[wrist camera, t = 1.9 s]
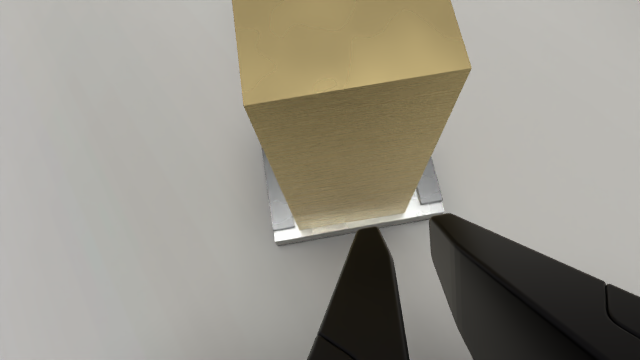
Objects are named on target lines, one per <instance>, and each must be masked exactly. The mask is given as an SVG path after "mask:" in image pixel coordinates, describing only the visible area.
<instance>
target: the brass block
mask: <svg viewBox="0 0 640 360" xmlns="http://www.w3.org/2000/svg"><path fill="white" fill-rule="evenodd" d="M232 4H233V13H234V22H235V32H236V41H237V50H238V59H239V68H240V77H241V87H242V96H243V105H244V108H245V110H246V112H247V114H248V117H249V119H250V121H251V123H252V126H253V128H254V130H255V132H256V135H257V137H258V139H259V141H260V143H261V146H262V148H263V150H264V152H265V155H266V157H267V159H268V161H269V164H270V166H271V168H272V170H273V173H274V175H275V177H276V179H277V181H278V184H279V186H280V188H281V190H282V193H283V195H284V197H285V199H286V202H287V204H288V206H289V208H290V211H291V213H292V215H293V217H294V219H295V222H296V224H297V226H298V228H299V230H304V229H310V228H316V227H322V226H328V225H334V224H340V223H346V222H352V221H358V220H364V219H370V218H377V217H383V216H389V215H395V214H401V213H405V211H406V209H407V207H408V205H409V203H410V200H411V198H412V196H413V194H414V192H415V190H416V187H417V185H418V183H419V181H420V179H421V177H422V174H423V172H424V170H425V168H426V166H427V164H428V161H429V159H430V157H431V155H432V153H433V151H434V148H435V146H436V144H437V142H438V140H439V138H440V135H441V133H442V131H443V129H444V127H445V125H446V122H447V120H448V118H449V116H450V114H451V112H452V109H453V107H454V105H455V103H456V101H457V99H458V96H459V94H460V92H461V90H462V88H463V86H464V83H465V81H466V79H467V77H468V75H469V73H470V70H471V64H470V61H469V58H468V55H467V52H466V49H465V45H464V42H463V39H462V36H461V33H460V29H459V26H458V23H457V20H456V17H455V13H454V10H453V7H452V4H451V1H450V0H232Z"/></svg>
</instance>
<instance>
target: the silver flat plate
mask: <svg viewBox="0 0 640 360" xmlns="http://www.w3.org/2000/svg"><path fill="white" fill-rule="evenodd" d="M262 153H263V161H264V168H265V176H266V183H267V190H268V198H269V205H270V213H271V220H272V227H273V231H274V236H275V242H276V243H277V245H278V246H280V245H286V244H291V243H297V242H303V241H308V240H314V239H320V238H325V237H331V236H336V235H342V234H348V233H353V232H357V231H358V230H359V229H363V228H368V227H374V226H375V227H378V228H381V227H387V226H393V225H398V224H404V223H409V222H415V221H421V220H426V219H430V218H431V217H432V216H436V215H441V214H443V213H444V208H443V205H442V200H443V198H442V195H441V191H440V187H439V184H438V180H437V176H436V173H435V169H434V165H433V162H432V158H431V157H430V159H429V161H428V164H427V166H426V168H425V170H424V172H423V174H422V177H421V179H420V181H419V183H418V185H417V187H416V190H415V192H414V194H413V196H412V198H411V200H410V203H409V205H408V207H407V209H406V211H405V213H401V214H395V215H389V216H383V217H377V218H370V219H364V220H358V221H352V222H346V223H340V224H334V225H328V226H322V227H316V228H310V229H304V230H299V228H298V226H297V224H296V222H295V219H294V217H293V215H292V213H291V211H290V208H289V206H288V204H287V202H286V199H285V197H284V195H283V193H282V190H281V188H280V186H279V184H278V181H277V179H276V177H275V175H274V173H273V170H272V168H271V166H270V164H269V161H268V159H267V157H266V155H265V152H264V150H263V148H262Z"/></svg>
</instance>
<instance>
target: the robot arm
mask: <svg viewBox="0 0 640 360" xmlns="http://www.w3.org/2000/svg"><path fill="white" fill-rule="evenodd" d="M429 230H430V246H431V256H432V260H433V263H434V266H435V269H436V272H437V274H438V277H439V280H440V282H441V285H442V288H443V291H444V293H445V296H446V299H447V301H448V304H449V307H450V310H451V312H452V315H453V318H454V320H455V323H456V325H457V328H458V330H459V332H460V334H461V336H462V338H463V340H464V342H465V344H466V346H467V348H468V350H469V352H470V354H471V356H472V357H473V359H474V360H640V297H639V296H636V295H634V294H632V293H629V292H627V291H625V290H623V289H620V288H618V287H616V286H614V285H611V284H607V285H606V283H605V282H604V281H602V280H600V279H598V278H595V277H593V276H591V275H589V274H586V273H584V272H582V271H580V270H577V269H575V268H573V267H571V266H568V265H566V264H564V263H562V262H559V261H557V260H555V259H553V258H550V257H548V256H546V255H544V254H541V253H539V252H537V251H535V250H532V249H530V248H528V247H526V246H523V245H521V244H519V243H517V242H514V241H512V240H510V239H508V238H505V237H503V236H501V235H499V234H496V233H494V232H492V231H490V230H487V229H485V228H483V227H480V226H478V225H476V224H474V223H471V222H469V221H467V220H465V219H462V218H460V217H458V216H456V215H453V214H451V213H447V214H441V215H436V216H432V217H431V218H430V220H429ZM307 360H410V359H409V353H408V347H407V341H406V335H405V328H404V322H403V316H402V310H401V304H400V298H399V291H398V285H397V279H396V273H395V267H394V262H393V258H392V255H391V253H390V251H389V249H388V247H387V245H386V242H385V240H384V238H383V236H382V234H381V232H380V230H379V228H378V227H375V226H374V227H368V228H363V229H359V230H358V231H357V233H356V235H355V238H354V240H353V243H352V245H351V248H350V251H349V253H348V256H347V258H346V261H345V264H344V266H343V269H342V271H341V274H340V277H339V279H338V282H337V284H336V287H335V290H334V292H333V295H332V297H331V300H330V303H329V305H328V308H327V310H326V313H325V316H324V318H323V321H322V323H321V326H320V329H319V331H318V334H317V337H316V338H315V341H314V344H313V346H312V349H311V351H310V354H309V356H308V358H307Z"/></svg>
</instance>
